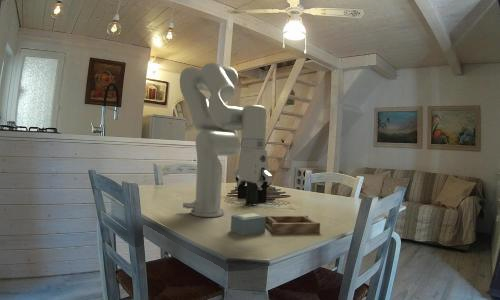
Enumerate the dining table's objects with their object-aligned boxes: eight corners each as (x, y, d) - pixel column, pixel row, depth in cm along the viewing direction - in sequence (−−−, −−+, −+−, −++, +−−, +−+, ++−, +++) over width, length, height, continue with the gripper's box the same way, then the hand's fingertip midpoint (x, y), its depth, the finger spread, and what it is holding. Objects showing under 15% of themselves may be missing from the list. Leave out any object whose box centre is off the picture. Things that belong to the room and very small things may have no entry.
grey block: (242, 236, 87) (243, 219, 87) (230, 231, 92) (231, 214, 92) (265, 232, 93) (265, 215, 93) (252, 227, 97) (253, 211, 97)
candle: (259, 203, 136) (262, 149, 136) (255, 205, 131) (258, 149, 131) (248, 202, 138) (251, 149, 137) (245, 204, 133) (247, 149, 133)
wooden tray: (272, 233, 91) (272, 224, 91) (263, 224, 101) (263, 215, 101) (319, 232, 95) (320, 223, 95) (306, 224, 104) (307, 215, 104)
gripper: (281, 146, 87) (279, 204, 87) (245, 145, 101) (244, 196, 100) (262, 145, 82) (260, 206, 82) (227, 145, 96) (225, 197, 96)
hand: (251, 200), depth 91 cm, fingers open, 9 cm apart
